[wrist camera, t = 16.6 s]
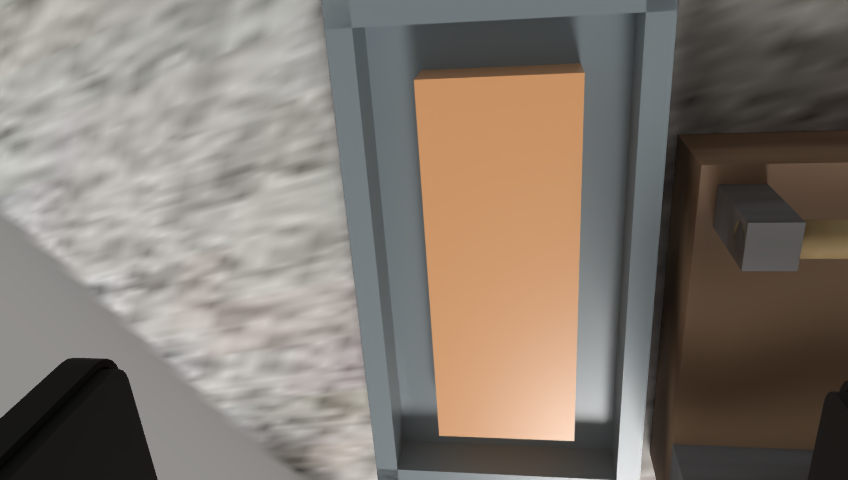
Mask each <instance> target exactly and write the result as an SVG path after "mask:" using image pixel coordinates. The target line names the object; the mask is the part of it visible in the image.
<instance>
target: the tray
mask: <svg viewBox="0 0 848 480" xmlns="http://www.w3.org/2000/svg"><path fill="white" fill-rule="evenodd" d="M321 4H322V12H323V21H324V29H325V37H326V46H327V54H328V63H329V71H330V80H331V88H332V96H333V105H334V113H335V122H336V130H337V139H338V147H339V155H340V164H341V172H342V181H343V189H344V197H345V206H346V214H347V223H348V231H349V240H350V248H351V256H352V265H353V273H354V282H355V290H356V298H357V307H358V315H359V324H360V332H361V341H362V349H363V357H364V366H365V374H366V383H367V391H368V400H369V408H370V416H371V425H372V433H373V442H374V450H375V458H376V467H377V475H378V480H640V470H641V458H642V445H643V433H644V421H645V408H646V396H647V383H648V371H649V359H650V346H651V334H652V321H653V309H654V297H655V284H656V272H657V260H658V247H659V235H660V222H661V210H662V198H663V185H664V173H665V160H666V148H667V136H668V123H669V111H670V98H671V86H672V74H673V61H674V49H675V37H676V24H677V12H678V0H321ZM573 63H581V65H582V68H583V70H584V72H585V82H584V117H583V153H582V188H581V223H580V259H579V294H578V329H577V364H576V400H575V435H574V441H559V440H534V439H508V438H483V437H458V436H439V426H438V412H437V398H436V384H435V370H434V356H433V342H432V328H431V314H430V300H429V286H428V272H427V258H426V244H425V230H424V216H423V202H422V188H421V174H420V160H419V146H418V132H417V118H416V103H415V89H414V79H415V78H416V77H417V75H418V74H419V73H420V72H421V70H437V69H460V68H482V67H505V66H528V65H550V64H573Z"/></svg>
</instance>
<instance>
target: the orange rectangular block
mask: <svg viewBox="0 0 848 480" xmlns="http://www.w3.org/2000/svg"><path fill="white" fill-rule="evenodd" d="M584 82H585V72H584V70H583V68H582V65H581V63H573V64H550V65H528V66H505V67H482V68H460V69H437V70H421V72H420V73H419V74H418V75H417V77H416V78H415V79H414V89H415V103H416V118H417V132H418V146H419V160H420V174H421V188H422V202H423V216H424V230H425V244H426V258H427V272H428V286H429V300H430V314H431V328H432V342H433V356H434V370H435V384H436V398H437V412H438V426H439V436H458V437H483V438H508V439H534V440H559V441H574V435H575V400H576V364H577V329H578V294H579V259H580V223H581V188H582V153H583V117H584Z"/></svg>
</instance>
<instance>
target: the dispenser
mask: <svg viewBox="0 0 848 480" xmlns="http://www.w3.org/2000/svg"><path fill="white" fill-rule="evenodd" d="M845 381H848V130H839V131H801V132H763V133H725V134H688V135H678V140H677V151H676V163H675V174H674V186H673V197H672V209H671V220H670V232H669V243H668V255H667V266H666V278H665V289H664V301H663V312H662V324H661V335H660V347H659V358H658V370H657V381H656V393H655V404H654V416H653V427H652V439H651V450H650V455H651V459H652V463H653V468H654V472H655V476H656V480H807V479H808V475H809V470H810V465H811V461H812V456H813V451H814V446H815V442H816V437H817V432H818V427H819V423H820V418H821V413H822V408H823V404H824V400H825V397H826V395H827V394H828V393H829V392H832V391H835V392H839V391H840V388H841V386H842V385H843V383H844V382H845Z"/></svg>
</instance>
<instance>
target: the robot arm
mask: <svg viewBox="0 0 848 480" xmlns="http://www.w3.org/2000/svg"><path fill="white" fill-rule="evenodd" d="M0 480H157V476H156V473H155V469H154V466H153V462H152V459H151V455H150V452H149V448H148V445H147V442H146V438H145V435H144V431H143V428H142V424H141V421H140V417H139V414H138V410H137V407H136V404H135V400H134V397H133V393H132V390H131V386H130V383H129V379H128V377H127V375H126V373H125V372H124V371H123V370H120V369H118V367H117V365H116V364H115V363H114V362H113V361H112V360H109V359H92V358H71V359H67V360H65V361H64V362H62V363H61V364H60V365H59V366H58V367H57V368H55V369H54V370H53V371H52V372H51V373H50V374H49V375H48V376H47V377H46V378H44V379H43V380H42V381H41V382H40V383H39V384H38V385H37V386H36V387H35V388H33V389H32V390H31V391H30V392H29V393H28V394H27V395H26V396H25V397H24V398H22V399H21V400H20V401H19V402H18V403H17V404H16V405H15V406H14V407H12V408H11V409H10V410H9V411H8V412H7V413H6V414H5V415H4V416H3V417H1V418H0ZM807 480H848V381H845V382H844V383H843V385H842V386H841V388H840V391H839V392H835V391H832V392H829V393H828V394H827V395H826V397H825V400H824V404H823V408H822V413H821V418H820V423H819V427H818V432H817V437H816V442H815V446H814V451H813V456H812V461H811V465H810V470H809V475H808V479H807Z"/></svg>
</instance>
